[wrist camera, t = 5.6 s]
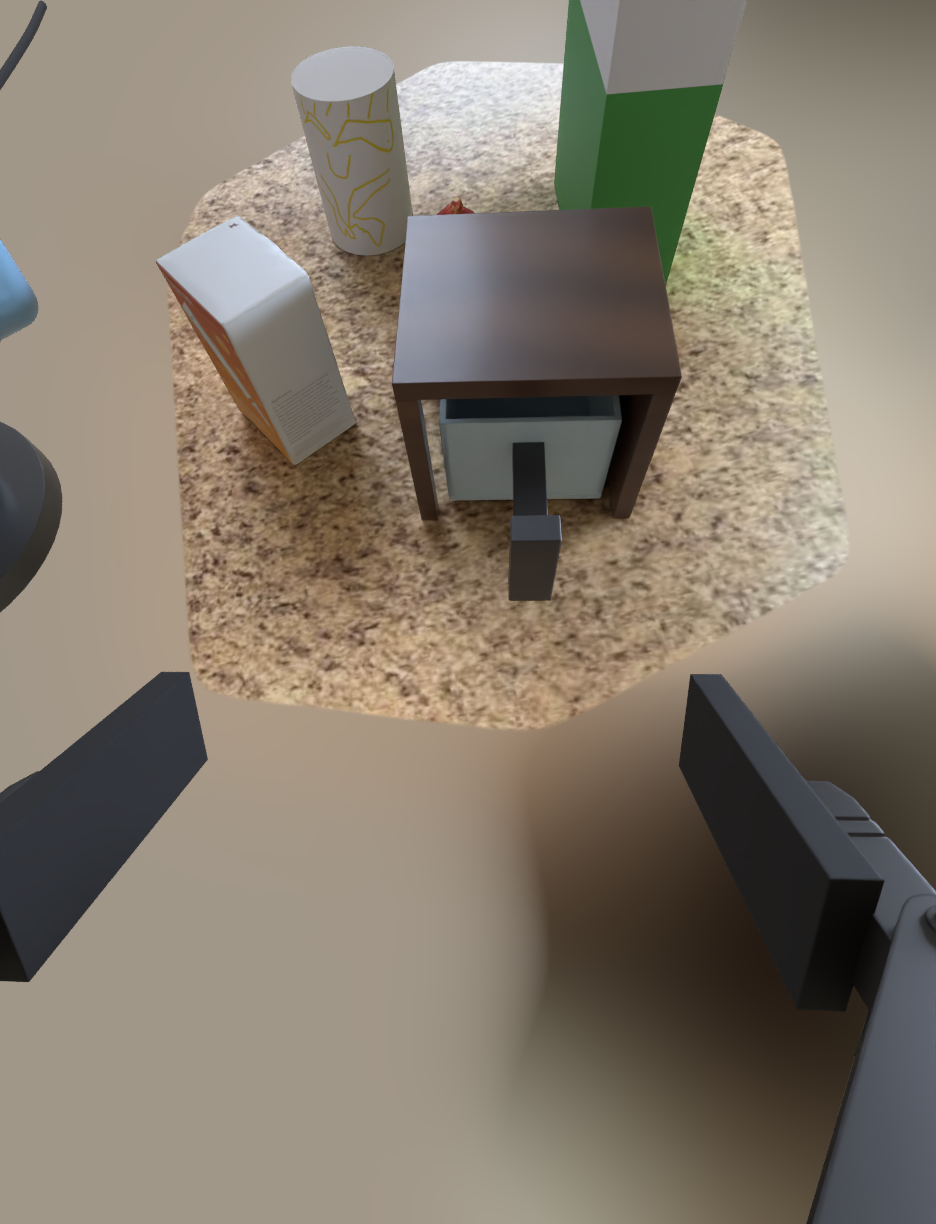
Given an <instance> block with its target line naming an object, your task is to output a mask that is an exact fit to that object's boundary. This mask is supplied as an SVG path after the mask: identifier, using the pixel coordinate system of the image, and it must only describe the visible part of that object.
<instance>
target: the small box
mask: <svg viewBox="0 0 936 1224" xmlns="http://www.w3.org/2000/svg"><path fill="white" fill-rule="evenodd" d="M156 263H157V265H158V267H159V269H160V270H161V272H162V273H163V275H164V277H165V279H166V281H167V282H168V284H169V286H170V288H171V289H172V291H173V293H174V295H175V296H176V298H177V300H178V302H179V303H180V305H181V307H182V309H183V311H184V312H185V314H186V316H187V318H188V320H189V321H190V323H191V325H192V327H193V328H194V330H195V332H196V334H197V336H198V337H199V339H200V341H201V343H202V344H203V346H204V348H205V350H206V351H207V353H208V355H209V357H210V358H211V360H212V362H213V364H214V365H215V367H216V369H217V371H218V373H219V374H220V376H221V378H222V380H223V382H224V384H225V385H226V387H227V389H228V391H229V393H230V394H231V396H232V398H233V400H234V402H235V403H236V405H237V407H238V408H239V410H240V411H241V412H242V413H243V414H244V415H245V416H246V417H247V418H248V419H249V420H251V421H252V422H253V423H254V424H255V425H256V426H257V427H258V429H259V430H260V431H261V432H262V433H263V434H264V435H265V436H266V437H267V438H268V439H269V440H270V441H271V442H272V443H273V444H274V445H275V446H276V447H277V448H278V449H279V450H280V451H281V452H282V454H283V455H284V456H285V457H286V458H287V459H288V460H289V461H290V462H291V463H292V464H293V465H297V464H298V463H300V462H301V461H303V460H304V459H305V458H307V457H308V456H310V455H311V454H313V453H314V452H316V451H317V450H318V449H320V448H321V447H323V446H324V445H326V444H327V443H329V442H330V441H332V440H333V439H335V438H336V437H337V436H339V435H340V434H342V433H343V432H345V431H346V430H347V429H349V428H350V427H352V426H353V425H354V424H355V423H356V421H355V418H354V415H353V412H352V409H351V406H350V403H349V400H348V397H347V394H346V391H345V388H344V385H343V381H342V378H341V375H340V372H339V369H338V366H337V363H336V359H335V356H334V353H333V350H332V347H331V344H330V341H329V338H328V335H327V332H326V329H325V326H324V323H323V320H322V317H321V314H320V311H319V307H318V304H317V301H316V298H315V295H314V292H313V289H312V286H311V283H310V280H309V277H308V274H307V273H306V271H304V270H303V269H302V268H301V267H300V266H299V265H297V264H296V263H295V262H294V261H293V260H292V259H291V258H289V257H288V256H287V255H286V254H285V253H284V252H282V251H281V250H280V249H279V248H278V247H277V246H276V245H275V244H274V243H273V242H272V241H271V240H269V239H268V238H266V237H265V236H264V235H262V234H260V233H259V232H258V231H257V230H255V229H254V228H253V227H252V226H251V225H249V224H248V223H247V222H245V221H244V220H243V219H242V218H241V217H239V216H236V217H234V218H232V219H230V220H228V221H226V222H224V223H222V224H220V225H218V226H216V227H214V228H212V229H210V230H208V231H207V232H205V233H203V234H201V235H199V236H198V237H196V238H194V239H192V240H191V241H189V242H187V243H185V244H184V245H182V246H180V247H178V248H176V249H175V250H173V251H171V252H169V253H168V254H166V255H164V256H163V257H161V258H160V259H157V260H156Z"/></svg>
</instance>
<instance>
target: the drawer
mask: <svg viewBox="0 0 936 1224" xmlns="http://www.w3.org/2000/svg"><path fill="white" fill-rule="evenodd" d="M621 422H622V417H621V408H620V400H619V395H603V396H561V397H519V398H476V399H440V418H439V426H440V434H441V441H442V449H443V456H444V464H445V471H446V479H447V486H448V494H449V500H450V501H454V500H513V516H511V519H510V549H509V578H508V582H509V601H543V600H550V599H551V594H552V589H553V583H554V578H555V573H556V568H557V562H558V557H559V552H560V547H561V542H562V536H561V519H560V515H548V509H547V499H591V498H601V494H602V491H603V487H604V484H605V480H606V476H607V473H608V469H609V466H610V462H611V458H612V455H613V451H614V447H615V444H616V440H617V436H618V433H619V429H620V425H621Z"/></svg>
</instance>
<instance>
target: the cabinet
mask: <svg viewBox="0 0 936 1224" xmlns="http://www.w3.org/2000/svg"><path fill="white" fill-rule="evenodd" d="M681 378H682V374H681V369H680V363H679V358H678V352H677V347H676V341H675V336H674V330H673V325H672V319H671V314H670V308H669V303H668V297H667V292H666V286H665V281H664V275H663V270H662V264H661V259H660V253H659V248H658V242H657V237H656V231H655V226H654V220H653V215H652V209H651V207H650V206H649V207H624V208H599V209H574V210H549V211H524V212H499V213H474V214H449V215H424V216H408V219H407V230H406V240H405V251H404V261H403V272H402V283H401V293H400V304H399V315H398V325H397V336H396V347H395V357H394V368H393V378H392V386H393V391H394V395H395V400H396V405H397V409H398V414H399V418H400V423H401V427H402V432H403V437H404V441H405V446H406V450H407V455H408V459H409V464H410V468H411V473H412V478H413V482H414V487H415V491H416V496H417V500H418V505H419V510H420V514H421V519H422V521H427V520H438V511H439V506H438V500H437V494H436V488H435V482H434V476H433V470H432V464H431V458H430V452H429V446H428V439H427V433H426V427H425V421H424V415H423V409H422V403H421V400H434V399H476V398H519V397H561V396H603V395H619V400H620V408H621V417H622V422H621V425H620V429H619V433H618V436H617V440H616V444H615V447H614V451H613V455H612V458H611V462H610V466H609V469H608V474H609V484H610V494H611V504H612V513H613V518H630V515H631V512H632V510H633V507H634V504H635V502H636V499H637V496H638V494H639V491H640V488H641V485H642V483H643V480H644V477H645V475H646V472H647V469H648V467H649V464H650V461H651V458H652V456H653V453H654V450H655V448H656V445H657V442H658V440H659V437H660V434H661V432H662V429H663V426H664V423H665V421H666V418H667V415H668V413H669V410H670V407H671V405H672V402H673V399H674V396H675V393H676V391H677V388H678V386H679V383H680V380H681Z"/></svg>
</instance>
